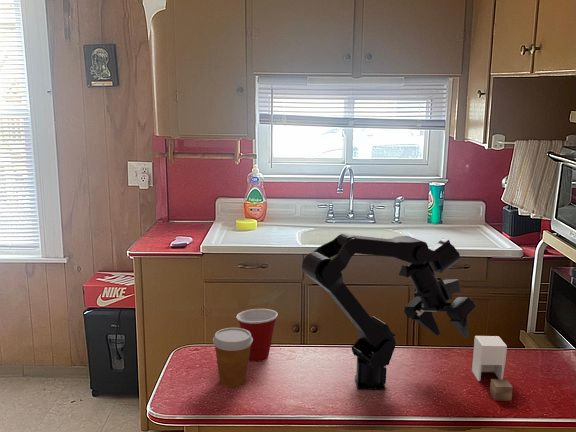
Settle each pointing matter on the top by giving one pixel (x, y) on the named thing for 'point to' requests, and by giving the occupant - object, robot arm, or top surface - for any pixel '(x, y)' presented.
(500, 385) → the walnut block
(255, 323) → the plastic cup
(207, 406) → the top surface
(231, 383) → the disposable coffee cup
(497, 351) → the white notched block
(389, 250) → the robot arm
